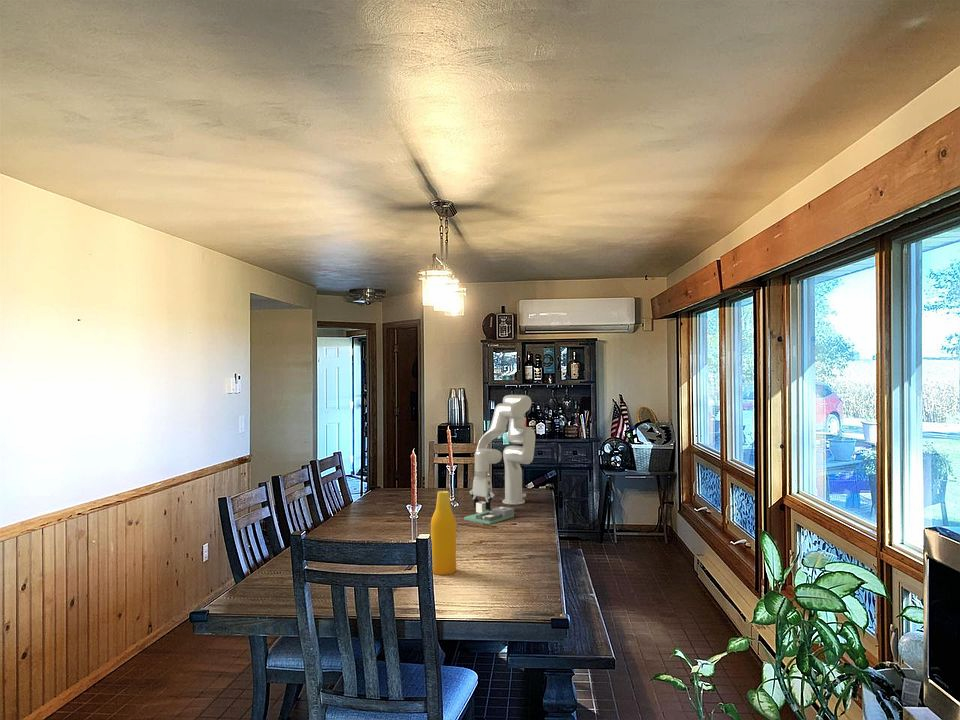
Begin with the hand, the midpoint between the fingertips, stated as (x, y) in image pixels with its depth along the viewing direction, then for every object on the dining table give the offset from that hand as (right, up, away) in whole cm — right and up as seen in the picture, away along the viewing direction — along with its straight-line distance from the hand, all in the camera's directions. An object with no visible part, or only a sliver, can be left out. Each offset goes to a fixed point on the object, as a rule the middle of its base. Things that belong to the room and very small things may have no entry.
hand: (482, 508), depth 333 cm
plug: (0, -2, 0) cm, 2 cm away
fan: (+10, 0, -12) cm, 16 cm away
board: (+4, -2, -15) cm, 15 cm away
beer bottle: (-14, 0, -99) cm, 101 cm away
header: (+3, 0, -20) cm, 20 cm away
